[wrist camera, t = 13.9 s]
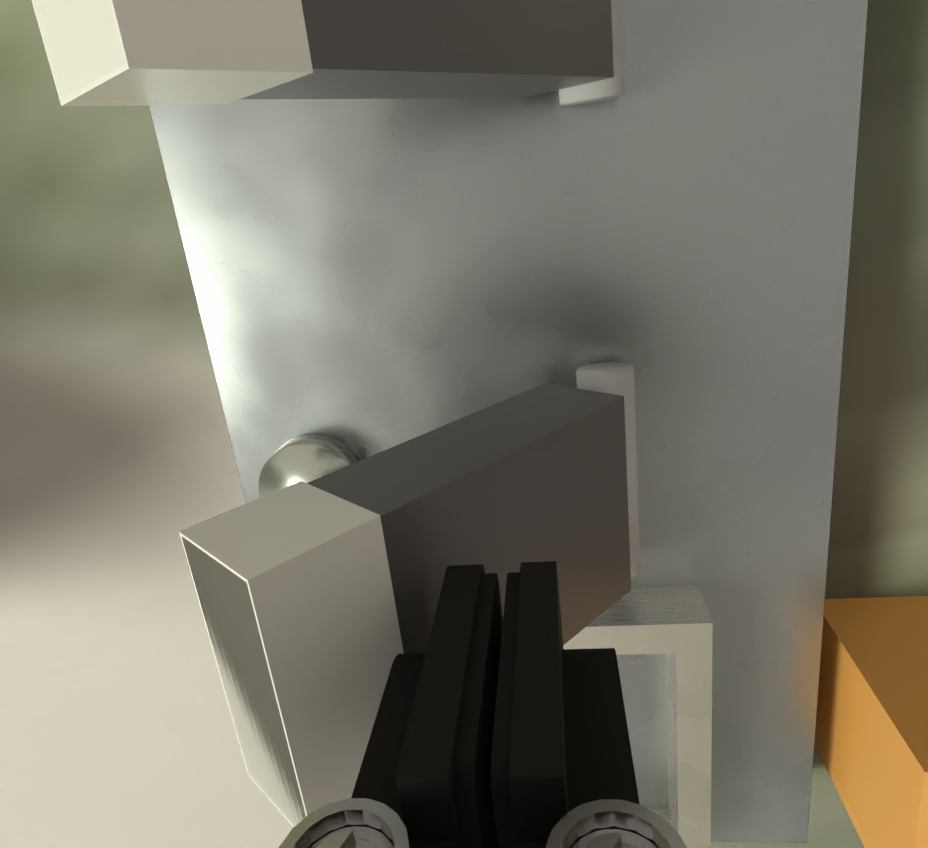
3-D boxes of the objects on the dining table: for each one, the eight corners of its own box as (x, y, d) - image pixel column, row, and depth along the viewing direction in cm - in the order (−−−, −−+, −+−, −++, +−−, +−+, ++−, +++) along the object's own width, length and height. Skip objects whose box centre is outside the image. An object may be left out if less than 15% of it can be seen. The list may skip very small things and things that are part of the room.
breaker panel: (839, -435, 12) (971, -703, 8) (778, 770, 21) (828, 896, 18) (120, -268, 14) (-32, -428, 10) (348, 770, 23) (312, 884, 20)
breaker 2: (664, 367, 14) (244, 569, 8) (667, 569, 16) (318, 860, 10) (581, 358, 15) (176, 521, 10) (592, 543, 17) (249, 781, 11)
